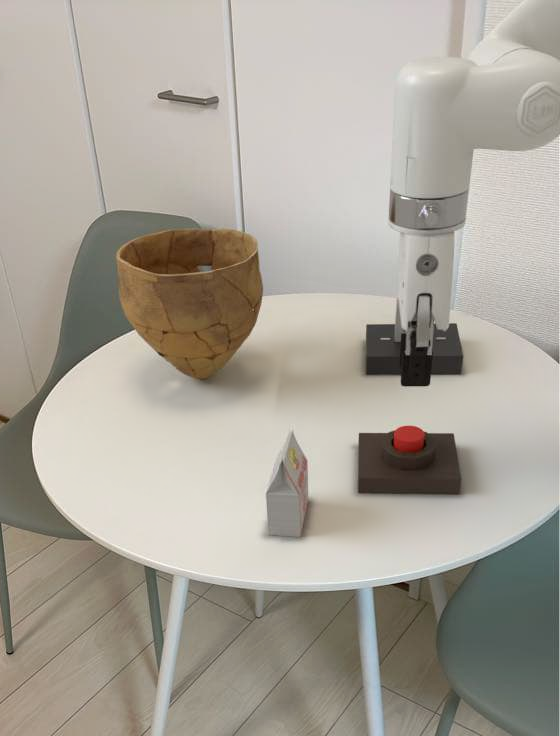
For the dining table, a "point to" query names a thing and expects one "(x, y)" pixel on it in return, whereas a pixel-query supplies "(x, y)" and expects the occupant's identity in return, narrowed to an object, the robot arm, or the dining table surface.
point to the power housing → (408, 465)
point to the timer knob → (398, 324)
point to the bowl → (192, 294)
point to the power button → (409, 439)
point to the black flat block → (387, 351)
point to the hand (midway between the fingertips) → (414, 374)
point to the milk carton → (288, 490)
